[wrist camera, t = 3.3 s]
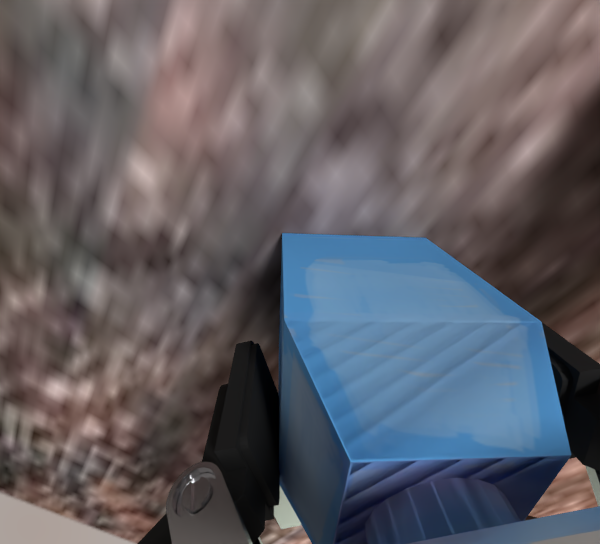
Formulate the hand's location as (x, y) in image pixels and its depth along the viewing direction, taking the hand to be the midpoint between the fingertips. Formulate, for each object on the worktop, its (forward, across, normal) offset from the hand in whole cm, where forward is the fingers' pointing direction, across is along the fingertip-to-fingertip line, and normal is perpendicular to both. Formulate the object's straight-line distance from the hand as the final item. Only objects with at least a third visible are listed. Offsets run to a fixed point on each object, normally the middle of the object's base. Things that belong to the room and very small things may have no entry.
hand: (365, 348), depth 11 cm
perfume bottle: (+4, 0, 0) cm, 4 cm away
